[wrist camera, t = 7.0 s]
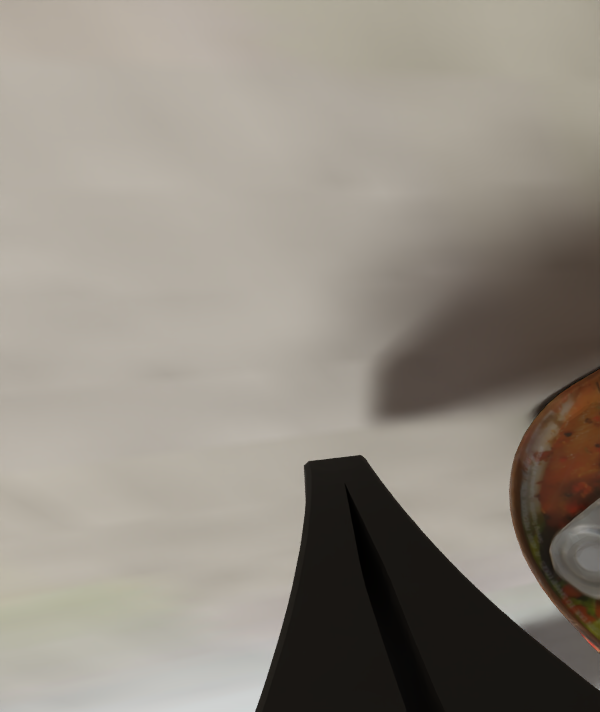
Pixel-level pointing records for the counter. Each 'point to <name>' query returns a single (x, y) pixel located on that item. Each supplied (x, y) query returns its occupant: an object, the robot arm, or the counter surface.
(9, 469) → the counter surface
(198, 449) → the counter surface
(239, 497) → the counter surface
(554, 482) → the tin
